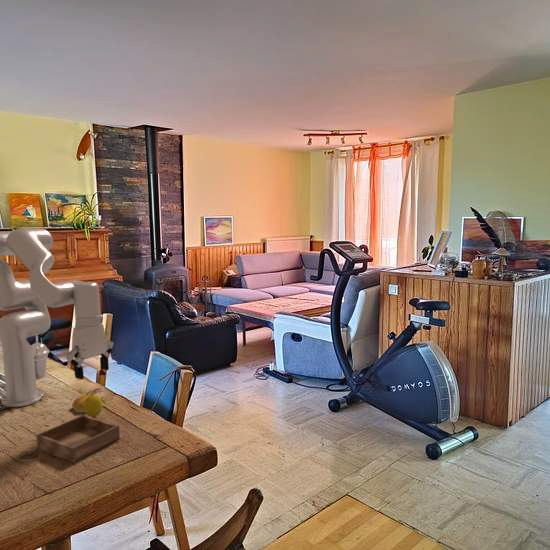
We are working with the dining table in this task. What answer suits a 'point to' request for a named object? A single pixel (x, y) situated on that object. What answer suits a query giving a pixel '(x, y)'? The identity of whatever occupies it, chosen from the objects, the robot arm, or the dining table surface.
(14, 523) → the dining table surface
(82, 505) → the dining table surface
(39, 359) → the cup with straw
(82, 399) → the bread roll
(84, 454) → the bin
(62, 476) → the dining table surface
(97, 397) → the lemon
